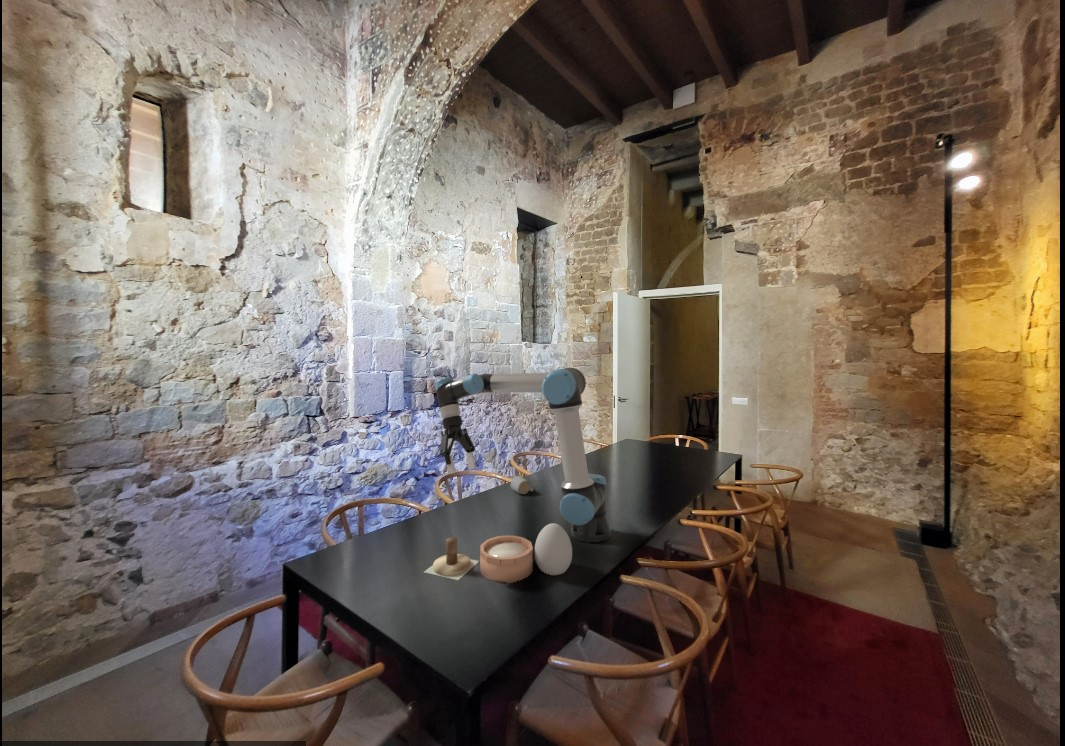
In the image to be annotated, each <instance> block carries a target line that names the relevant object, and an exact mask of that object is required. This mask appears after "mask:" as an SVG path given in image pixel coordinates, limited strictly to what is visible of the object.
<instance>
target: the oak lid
mask: <svg viewBox="0 0 1065 746" xmlns="http://www.w3.org/2000/svg"><path fill="white" fill-rule="evenodd" d="M445 554H446V555H445ZM445 554H444V555H442V556H439V557H438V558H436V559H435V560H434V562H433V564H432V565H433V569H434V572H435V573H437V574H439V575H443V576H454V575H459V574H462V573H464V572H466V571H467V570H468V569H469V568H470V566H471V561H470V559H471V558H470V557H469V556H468V555H465V554H462V553H458V538H457V537H453V536H452V537H448V538H445Z"/></svg>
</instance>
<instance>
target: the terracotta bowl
mask: <svg viewBox="0 0 1065 746" xmlns="http://www.w3.org/2000/svg"><path fill="white" fill-rule="evenodd" d="M479 547H480V549H479V550H480V552H479V562H480V569H479V570H480V573H481V575H482V576H483V577H485V578H487V579H488V580H491V581H495V582H498V583H499V582H502V583H505V582H506V584H514V583H513V582H515V583H517V582H516V581H519V580H522V579H524V578H526V577H527V578H529V577H530V576H531V575H530V574H532V573H533V571H534V569H533V568H534V565H533V563H534V561H533V559H534V558H533V553H534V547H533V544H532V542H531V540H528V539H527V538H525V537H522V536H518V535H511V534H509V535H499V536H498V535H497V536H495V537H491V538H487V539H486V540H485V541H483V543H482V542H481V544H480V546H479ZM531 572H532V573H531ZM529 575H530V576H529ZM528 576H529V577H528ZM527 578H526V579H527ZM524 580H525V579H524ZM522 581H523V580H522ZM519 582H520V581H519Z"/></svg>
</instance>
